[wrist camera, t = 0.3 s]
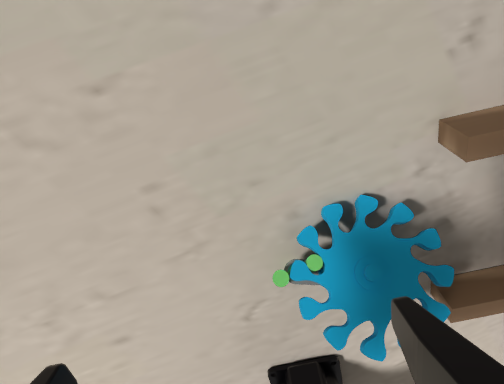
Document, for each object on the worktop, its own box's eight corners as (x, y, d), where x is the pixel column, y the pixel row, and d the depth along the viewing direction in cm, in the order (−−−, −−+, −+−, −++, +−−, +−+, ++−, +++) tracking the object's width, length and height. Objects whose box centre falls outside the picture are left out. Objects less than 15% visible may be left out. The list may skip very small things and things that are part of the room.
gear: (451, 194, 22) (470, 368, 20) (415, 213, 28) (426, 350, 25) (274, 190, 23) (270, 357, 20) (275, 209, 29) (271, 342, 26)
